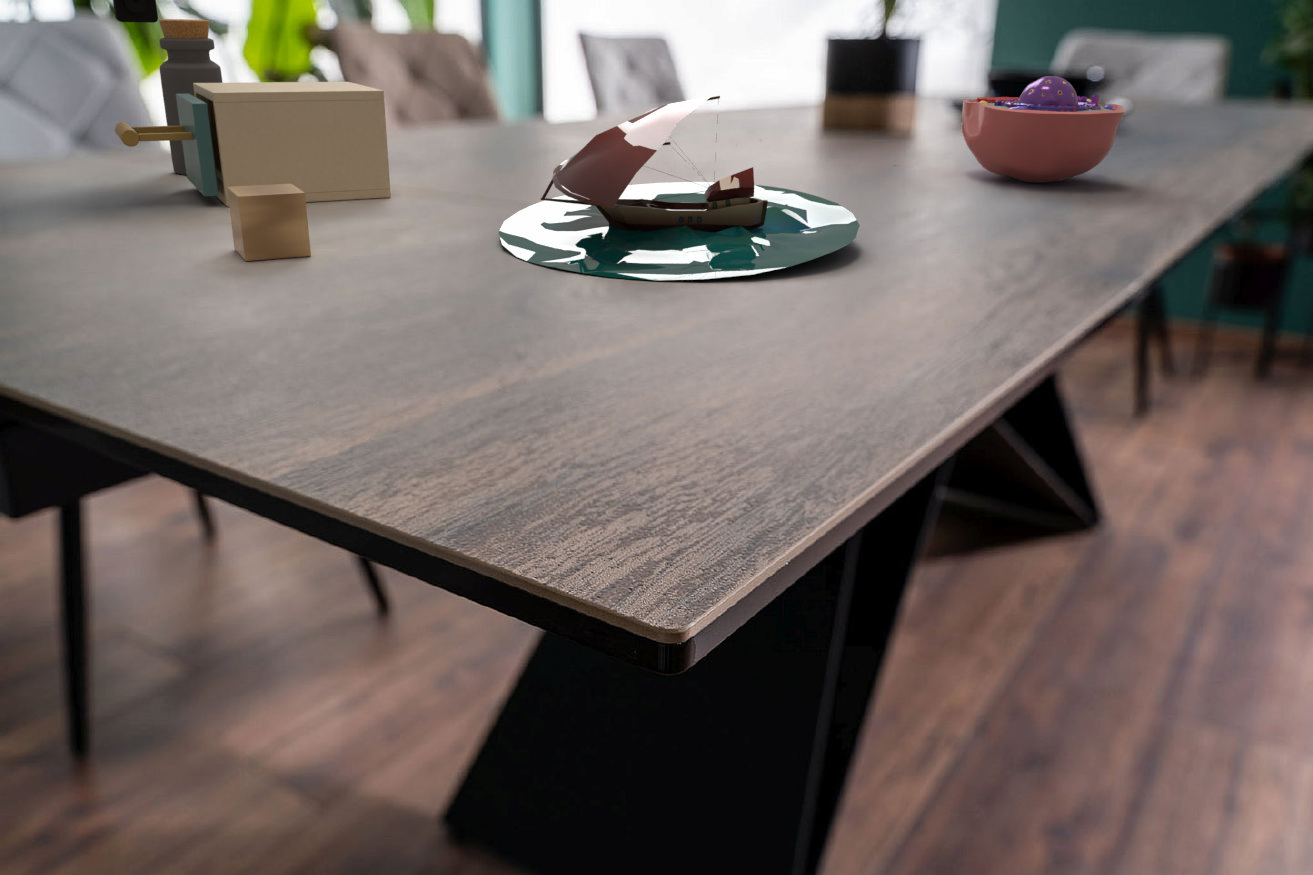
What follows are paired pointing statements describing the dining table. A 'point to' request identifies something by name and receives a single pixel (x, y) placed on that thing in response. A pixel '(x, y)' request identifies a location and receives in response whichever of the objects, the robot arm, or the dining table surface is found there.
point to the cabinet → (301, 137)
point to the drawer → (187, 140)
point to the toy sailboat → (669, 215)
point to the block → (269, 221)
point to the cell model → (1040, 131)
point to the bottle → (184, 70)
